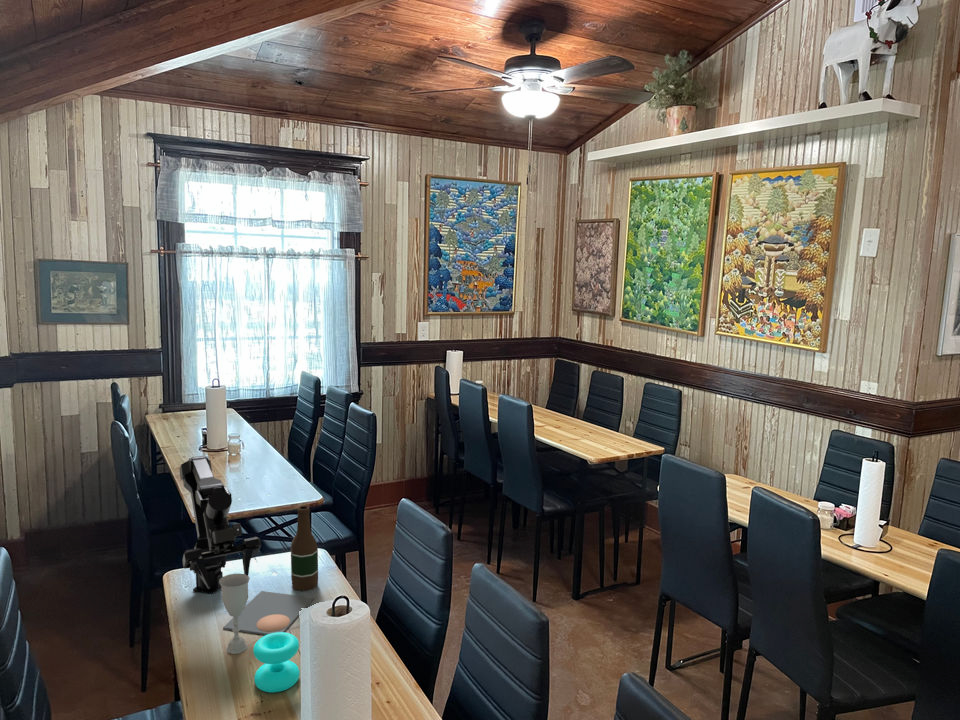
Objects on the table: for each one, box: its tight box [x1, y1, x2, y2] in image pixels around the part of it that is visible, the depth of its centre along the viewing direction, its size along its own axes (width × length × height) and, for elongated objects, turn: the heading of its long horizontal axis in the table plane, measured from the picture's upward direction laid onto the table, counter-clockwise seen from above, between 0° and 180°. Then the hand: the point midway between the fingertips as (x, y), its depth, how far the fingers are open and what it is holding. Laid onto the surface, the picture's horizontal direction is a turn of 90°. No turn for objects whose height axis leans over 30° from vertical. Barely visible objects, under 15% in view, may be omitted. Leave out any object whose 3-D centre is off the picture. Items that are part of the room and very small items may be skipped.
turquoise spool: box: [253, 631, 300, 693], centre depth 161 cm, size 10×10×10 cm
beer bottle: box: [290, 505, 319, 592], centre depth 206 cm, size 8×8×24 cm
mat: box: [222, 590, 315, 636], centre depth 191 cm, size 16×20×1 cm
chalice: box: [219, 573, 251, 655], centre depth 174 cm, size 7×7×18 cm
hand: (228, 583), depth 179 cm, fingers open, 9 cm apart
